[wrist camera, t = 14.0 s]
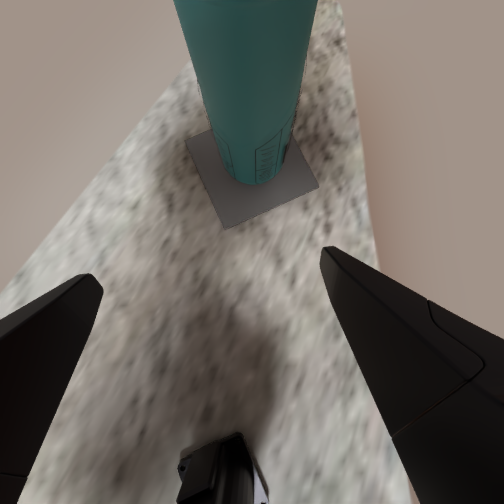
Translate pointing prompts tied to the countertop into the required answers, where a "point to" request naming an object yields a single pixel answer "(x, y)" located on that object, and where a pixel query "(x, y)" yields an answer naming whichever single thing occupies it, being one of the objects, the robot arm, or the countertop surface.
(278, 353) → the countertop surface
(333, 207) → the countertop surface
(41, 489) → the countertop surface
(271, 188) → the mat
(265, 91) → the beverage bottle
